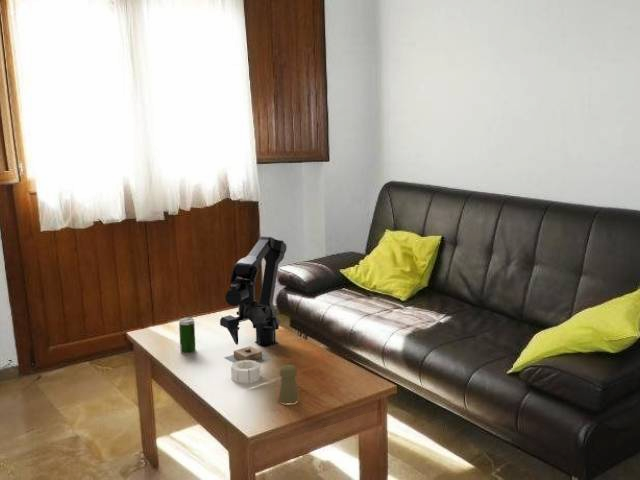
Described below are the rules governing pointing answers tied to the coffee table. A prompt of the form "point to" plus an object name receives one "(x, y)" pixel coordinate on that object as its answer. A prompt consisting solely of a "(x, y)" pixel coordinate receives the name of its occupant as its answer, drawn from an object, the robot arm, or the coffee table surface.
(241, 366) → the bowl
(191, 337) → the beer can
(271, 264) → the robot arm
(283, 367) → the green shaker
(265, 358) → the mat
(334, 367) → the coffee table surface
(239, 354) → the lid
